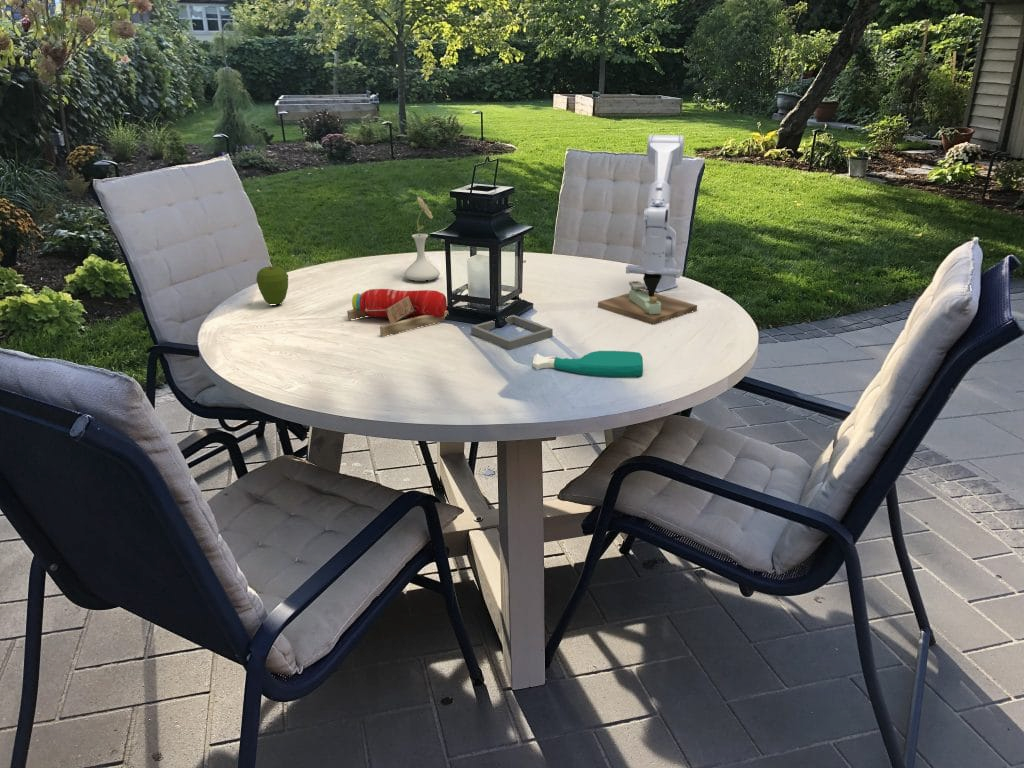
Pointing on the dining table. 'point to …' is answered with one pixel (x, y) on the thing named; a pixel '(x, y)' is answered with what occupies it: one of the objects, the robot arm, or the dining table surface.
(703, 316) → the dining table surface
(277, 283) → the apple
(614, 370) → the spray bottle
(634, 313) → the board
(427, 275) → the flower in vase
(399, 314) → the water bottle
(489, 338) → the mousse rim
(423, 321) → the bottle cradle
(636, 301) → the link
